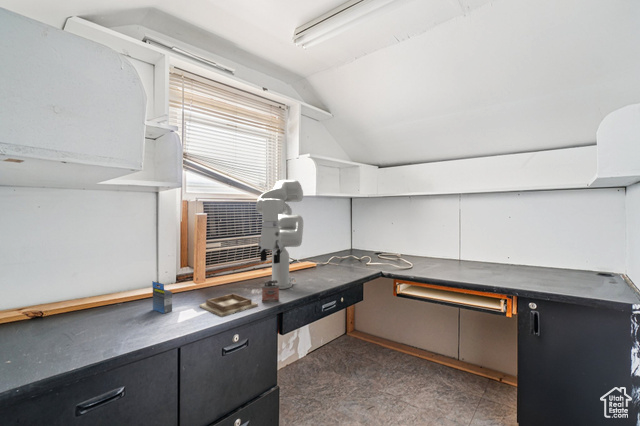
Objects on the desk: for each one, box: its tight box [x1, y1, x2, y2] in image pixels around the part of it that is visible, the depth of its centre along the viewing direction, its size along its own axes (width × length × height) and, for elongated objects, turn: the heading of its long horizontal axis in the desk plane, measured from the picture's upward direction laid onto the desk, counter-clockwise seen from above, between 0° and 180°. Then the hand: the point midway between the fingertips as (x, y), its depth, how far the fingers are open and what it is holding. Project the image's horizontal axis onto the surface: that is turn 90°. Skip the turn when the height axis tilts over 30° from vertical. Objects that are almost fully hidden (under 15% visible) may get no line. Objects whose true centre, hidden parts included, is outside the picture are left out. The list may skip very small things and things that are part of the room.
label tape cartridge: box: [151, 281, 173, 314], centre depth 130 cm, size 9×4×12 cm, turn 58°
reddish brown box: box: [261, 279, 280, 304], centre depth 143 cm, size 8×3×10 cm, turn 105°
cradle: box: [199, 292, 259, 317], centre depth 136 cm, size 18×18×3 cm
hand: (270, 261), depth 142 cm, fingers open, 9 cm apart
